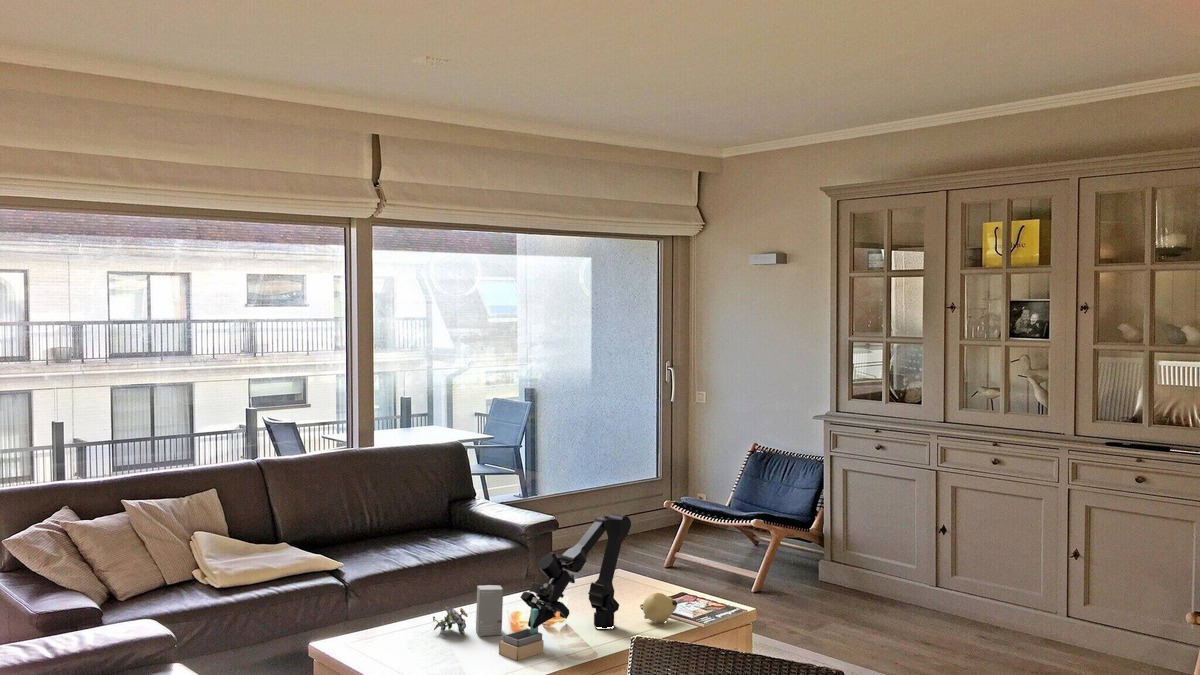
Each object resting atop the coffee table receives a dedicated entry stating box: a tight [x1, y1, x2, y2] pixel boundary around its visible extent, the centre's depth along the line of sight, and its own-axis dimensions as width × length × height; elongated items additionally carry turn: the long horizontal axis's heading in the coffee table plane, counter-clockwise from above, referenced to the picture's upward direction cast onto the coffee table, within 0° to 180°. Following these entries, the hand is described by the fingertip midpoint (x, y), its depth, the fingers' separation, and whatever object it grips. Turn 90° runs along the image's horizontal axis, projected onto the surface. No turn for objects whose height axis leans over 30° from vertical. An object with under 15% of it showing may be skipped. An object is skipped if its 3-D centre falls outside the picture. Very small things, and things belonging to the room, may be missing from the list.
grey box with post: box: [502, 608, 543, 647], centre depth 312 cm, size 11×7×13 cm, turn 136°
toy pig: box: [642, 592, 678, 624], centre depth 344 cm, size 10×12×11 cm
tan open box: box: [498, 639, 545, 662], centre depth 311 cm, size 11×9×4 cm
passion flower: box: [432, 606, 468, 636], centre depth 329 cm, size 11×11×12 cm
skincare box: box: [475, 584, 504, 638], centre depth 331 cm, size 8×7×16 cm
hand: (531, 626), depth 314 cm, fingers closed on grey box with post, 2 cm apart
